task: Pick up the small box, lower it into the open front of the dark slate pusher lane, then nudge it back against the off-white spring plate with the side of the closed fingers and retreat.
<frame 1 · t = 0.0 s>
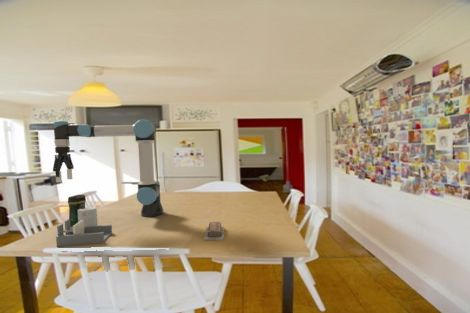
hand: (64, 180, 160), 28 cm above the table, fingers open, 13 cm apart
lane: (87, 239, 135), on the table
small box: (88, 231, 148), on the table
coffee jar: (78, 224, 162), on the table
pusher plate: (70, 230, 134), point 5 cm above the table, slide at 0.0 cm
packaged product: (214, 235, 138), on the table
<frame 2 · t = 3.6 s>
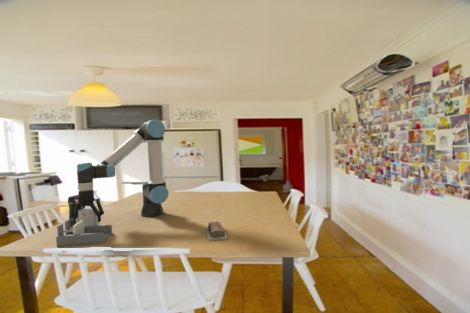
hand: (88, 228, 148), 2 cm above the table, fingers closed on small box, 10 cm apart
small box: (88, 231, 148), on the table, touching gripper
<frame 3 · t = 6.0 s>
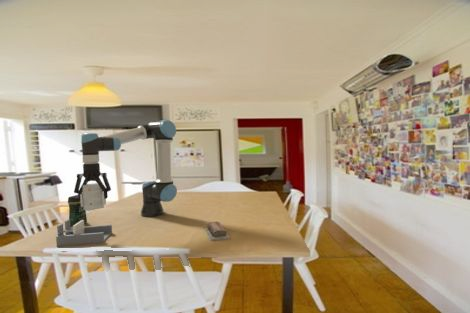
hand: (93, 205, 135), 18 cm above the table, fingers closed on small box, 10 cm apart
small box: (93, 209, 135), point 16 cm above the table, touching gripper
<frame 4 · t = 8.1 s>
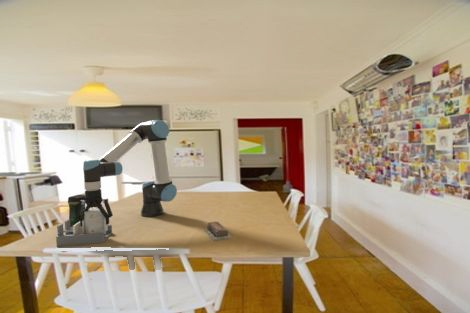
hand: (95, 231, 136), 4 cm above the table, fingers closed on small box, 10 cm apart
small box: (95, 235, 136), point 2 cm above the table, touching gripper
pusher plate: (70, 230, 134), point 5 cm above the table, slide at 0.0 cm, touching gripper
when the fingers open (3 cm above the table, at t = 8.7 s): small box stays where it is, resting on lane.
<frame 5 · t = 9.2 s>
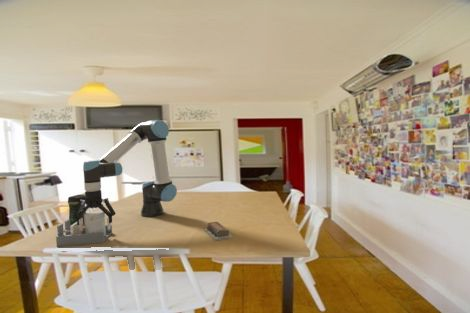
hand: (95, 230, 136), 4 cm above the table, fingers open, 13 cm apart
small box: (95, 237, 136), point 1 cm above the table, touching lane
pusher plate: (68, 231, 134), point 5 cm above the table, slide at 1.2 cm, touching gripper
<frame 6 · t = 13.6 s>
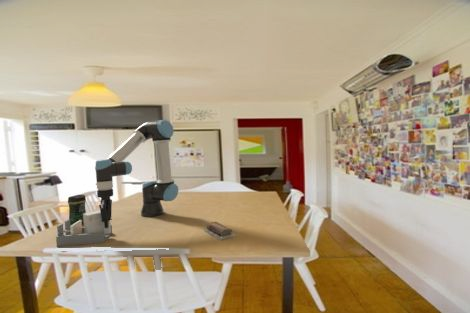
hand: (107, 233, 137), 2 cm above the table, fingers closed
pusher plate: (68, 231, 134), point 5 cm above the table, slide at 1.2 cm
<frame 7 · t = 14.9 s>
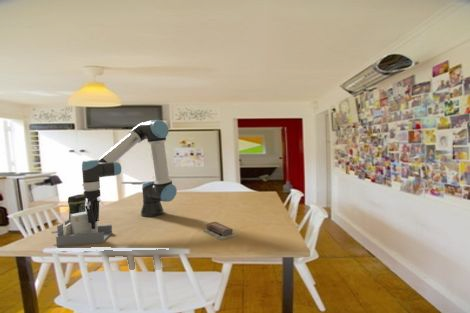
hand: (94, 234, 136), 2 cm above the table, fingers closed
small box: (82, 238, 135), point 1 cm above the table, touching gripper, lane
pusher plate: (61, 231, 133), point 5 cm above the table, slide at 4.4 cm
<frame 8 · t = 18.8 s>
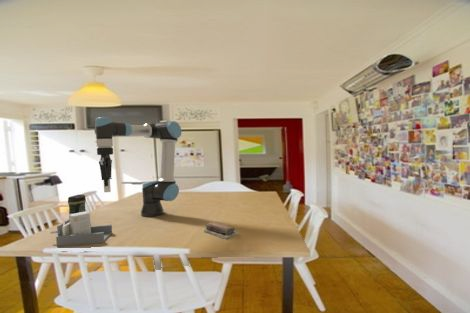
hand: (107, 191, 136), 24 cm above the table, fingers closed
small box: (81, 238, 135), point 1 cm above the table, touching lane
pusher plate: (60, 231, 133), point 5 cm above the table, slide at 4.8 cm
at the end: small box inside the target area on the lane (5.9 cm from its centre), point 0.6 cm above the lane's base; small box tilted 0°; the gripper is holding nothing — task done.
